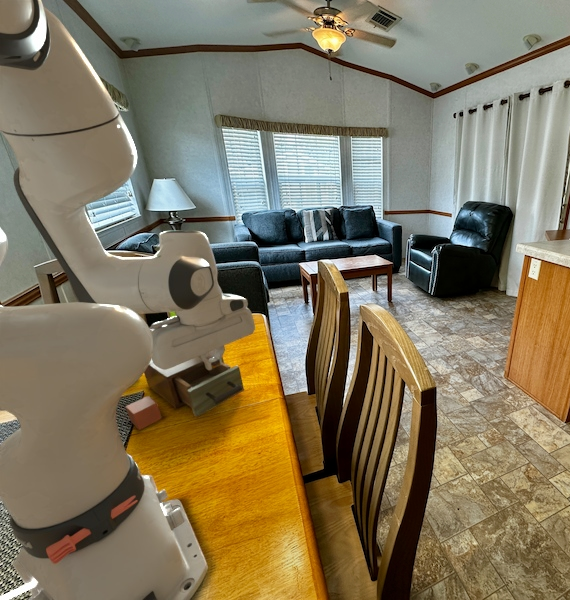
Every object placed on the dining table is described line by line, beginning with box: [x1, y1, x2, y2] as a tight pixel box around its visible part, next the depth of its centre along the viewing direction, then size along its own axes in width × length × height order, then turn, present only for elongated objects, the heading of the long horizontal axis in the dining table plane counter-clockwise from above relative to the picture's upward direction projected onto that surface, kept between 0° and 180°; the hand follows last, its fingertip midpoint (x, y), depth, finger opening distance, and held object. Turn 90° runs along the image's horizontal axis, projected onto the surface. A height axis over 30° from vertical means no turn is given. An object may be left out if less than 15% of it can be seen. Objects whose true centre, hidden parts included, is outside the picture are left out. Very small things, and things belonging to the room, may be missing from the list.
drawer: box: [172, 362, 245, 418], centre depth 78 cm, size 18×12×7 cm, turn 57°
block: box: [125, 395, 163, 431], centre depth 73 cm, size 4×4×4 cm
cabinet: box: [143, 350, 225, 409], centre depth 84 cm, size 15×13×9 cm
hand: (214, 366), depth 72 cm, fingers closed
